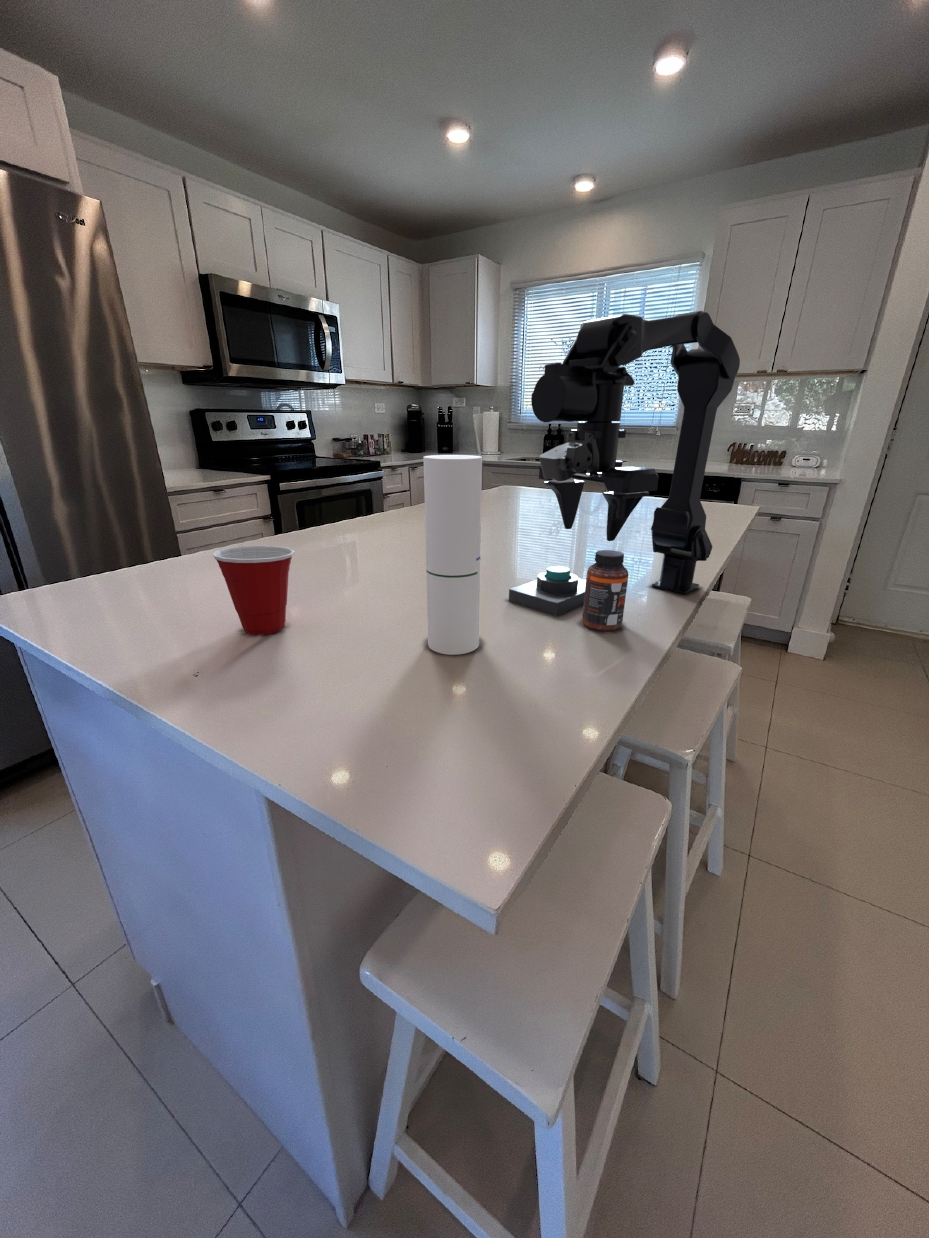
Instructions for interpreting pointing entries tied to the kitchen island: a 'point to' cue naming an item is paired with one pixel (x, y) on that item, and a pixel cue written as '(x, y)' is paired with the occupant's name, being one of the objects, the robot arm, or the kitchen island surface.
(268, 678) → the kitchen island surface
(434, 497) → the cylindrical container
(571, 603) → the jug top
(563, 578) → the lid button
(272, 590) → the plastic cup
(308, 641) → the kitchen island surface
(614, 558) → the supplement bottle
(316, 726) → the kitchen island surface
